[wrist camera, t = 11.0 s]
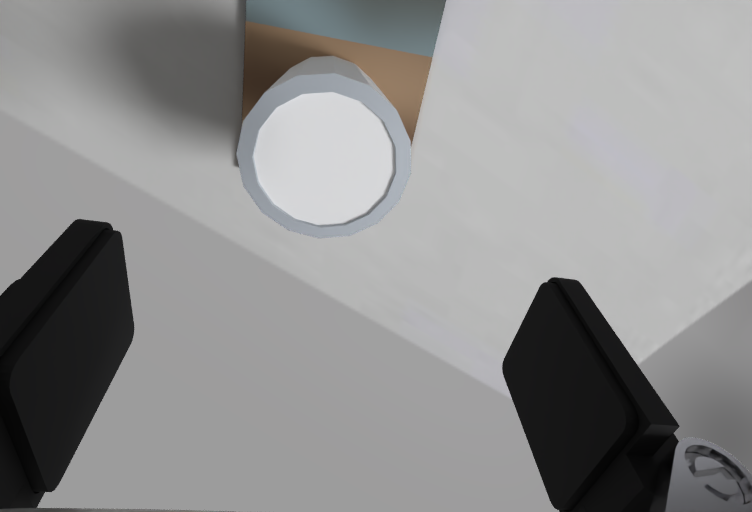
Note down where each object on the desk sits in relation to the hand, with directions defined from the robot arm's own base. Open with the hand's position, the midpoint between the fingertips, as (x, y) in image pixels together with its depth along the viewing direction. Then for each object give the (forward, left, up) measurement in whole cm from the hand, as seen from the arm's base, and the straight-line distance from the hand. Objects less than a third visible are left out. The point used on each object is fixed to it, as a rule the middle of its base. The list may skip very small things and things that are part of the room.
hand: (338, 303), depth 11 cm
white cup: (0, 0, -16) cm, 16 cm away
